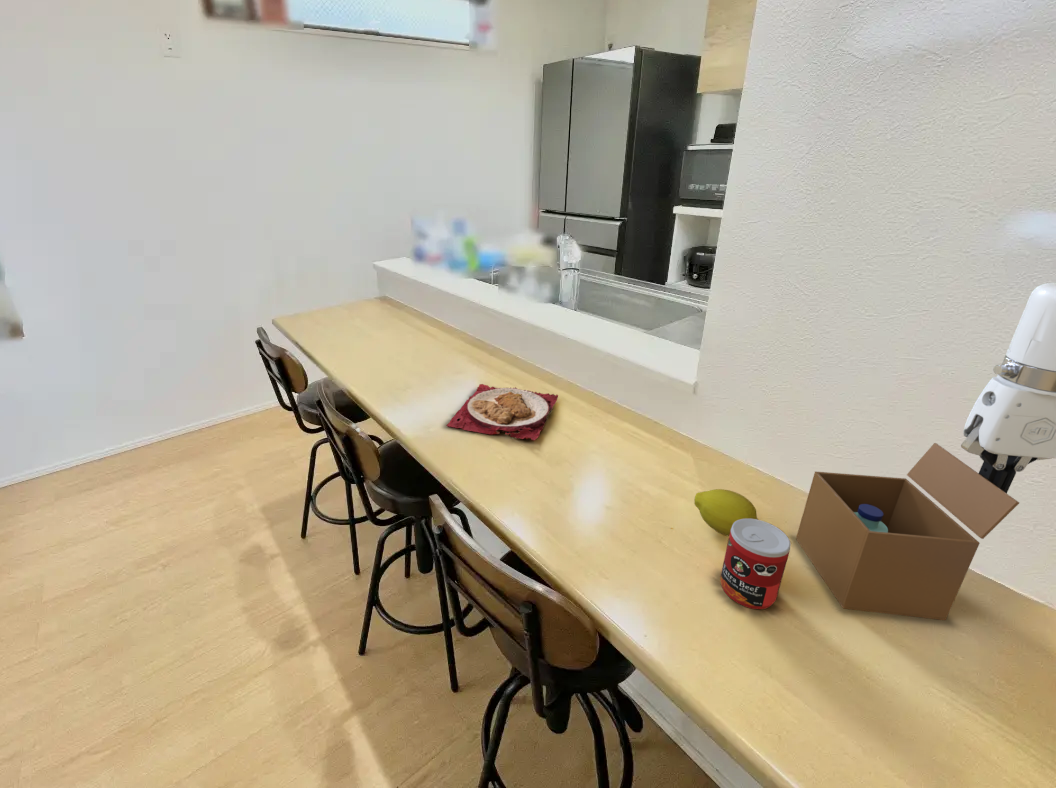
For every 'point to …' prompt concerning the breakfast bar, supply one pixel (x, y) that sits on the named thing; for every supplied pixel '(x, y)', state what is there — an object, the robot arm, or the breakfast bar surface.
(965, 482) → the flap
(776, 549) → the canned food
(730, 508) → the lemon
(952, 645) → the breakfast bar surface
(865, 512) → the bottle
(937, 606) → the carton
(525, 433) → the plate with food
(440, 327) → the breakfast bar surface
